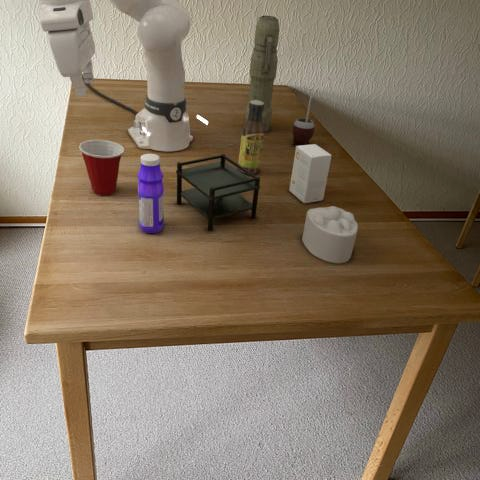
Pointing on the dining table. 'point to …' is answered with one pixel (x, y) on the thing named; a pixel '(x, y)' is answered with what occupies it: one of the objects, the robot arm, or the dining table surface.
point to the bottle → (150, 194)
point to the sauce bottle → (252, 138)
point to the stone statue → (264, 66)
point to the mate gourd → (303, 129)
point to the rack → (217, 188)
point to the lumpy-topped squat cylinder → (330, 233)
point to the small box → (310, 173)
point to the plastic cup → (102, 164)
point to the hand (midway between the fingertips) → (86, 88)
